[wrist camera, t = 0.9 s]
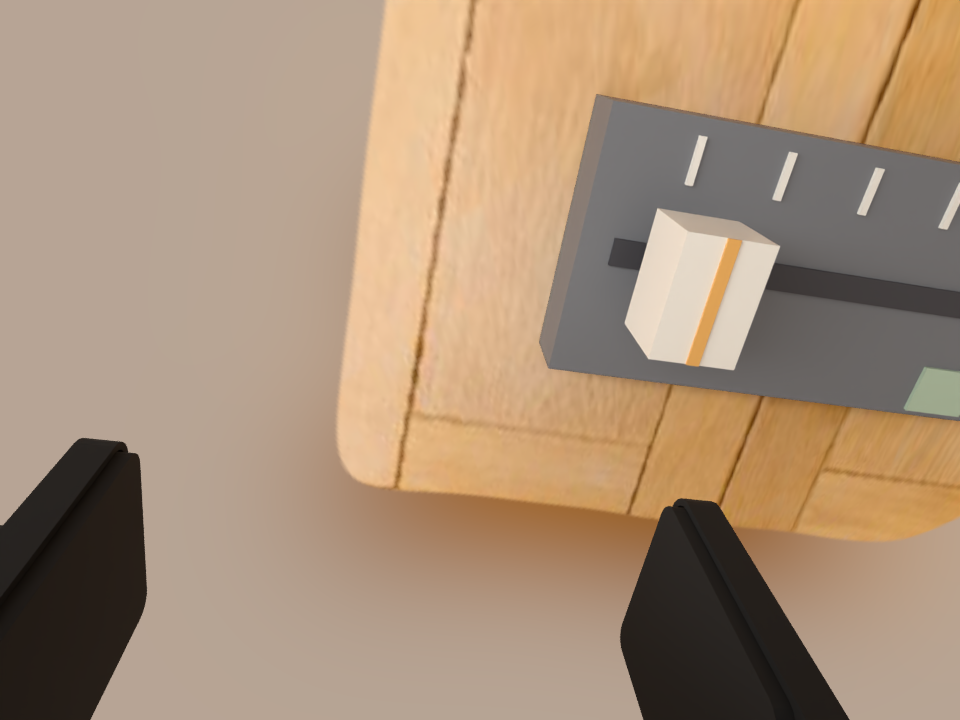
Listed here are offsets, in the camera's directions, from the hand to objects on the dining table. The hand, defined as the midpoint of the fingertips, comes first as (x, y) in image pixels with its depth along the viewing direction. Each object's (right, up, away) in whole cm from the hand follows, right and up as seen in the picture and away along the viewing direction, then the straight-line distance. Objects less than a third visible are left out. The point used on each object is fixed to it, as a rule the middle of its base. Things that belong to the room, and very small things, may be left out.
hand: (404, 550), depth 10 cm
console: (+17, +8, +23) cm, 30 cm away
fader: (+9, +7, +19) cm, 22 cm away
